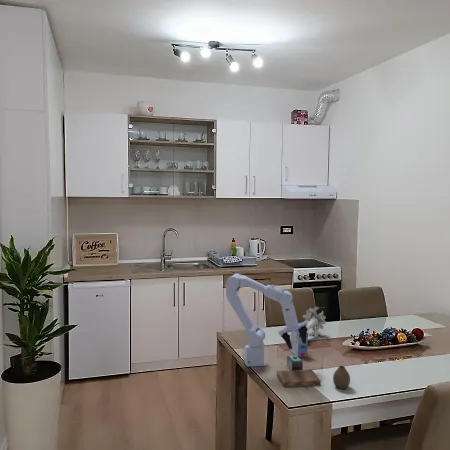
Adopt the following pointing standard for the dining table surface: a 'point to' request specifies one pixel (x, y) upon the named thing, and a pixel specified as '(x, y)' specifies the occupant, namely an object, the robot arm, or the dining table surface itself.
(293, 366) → the gray teal block
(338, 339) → the dining table surface
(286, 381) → the walnut stand
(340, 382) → the vase
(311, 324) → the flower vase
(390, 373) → the dining table surface
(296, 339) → the ink cartridge box
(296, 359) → the cover plate
